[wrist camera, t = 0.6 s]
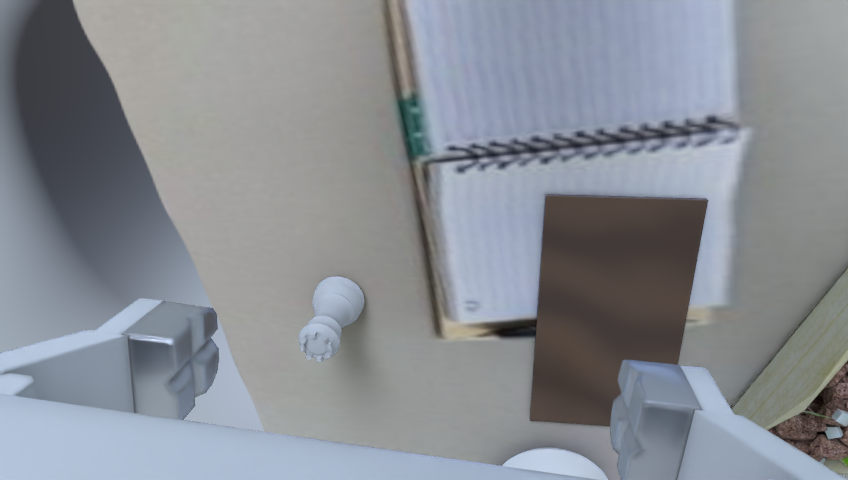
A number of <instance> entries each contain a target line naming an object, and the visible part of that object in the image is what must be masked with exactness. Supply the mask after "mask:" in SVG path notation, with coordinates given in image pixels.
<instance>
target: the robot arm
mask: <svg viewBox="0 0 848 480" xmlns="http://www.w3.org/2000/svg"><path fill="white" fill-rule="evenodd" d="M217 329H218V326H217V314H216V312H215V311H214V309H213V308H210V307H202V306H195V305H189V304H182V303H175V302H166V301H165V300H154V299H141V298H139V299H138V300H136V301H135V302H134V303H132V304H131V305H129V306H128V307H127V308H125V309H124V310H123V311H121V312H120V313H119V314H117V315H116V316H114V317H113V318H112V319H110V320H109V321H107V322H106V323H105V324H103V325H102V326H101V327H99V328H98V329H96V330H95V331H91V330H85V331H81V332H78V333H74V334H70V335H66V336H62V337H58V338H55V339H51V340H47V341H43V342H39V343H36V344H32V345H28V346H24V347H20V348H16V349H12V350H8V351H5V352H1V353H0V480H597V479H590V478H583V477H576V476H569V475H562V474H555V473H548V472H541V471H534V470H527V469H520V468H513V467H506V466H499V465H492V464H485V463H478V462H471V461H464V460H457V459H451V458H444V457H437V456H430V455H423V454H416V453H409V452H402V451H395V450H388V449H381V448H374V447H367V446H360V445H353V444H346V443H339V442H333V441H326V440H319V439H312V438H305V437H298V436H291V435H284V434H277V433H270V432H262V431H256V430H249V429H242V428H235V427H228V426H222V425H221V426H220V425H214V424H208V423H200V422H194V421H187V420H184V418H185V417H186V416H187V415H188V414H189V412H190V411H191V410H192V409H193V408H194V406H195V397H197V396H199V395H202V394H204V393H206V392H207V390H208V389H209V388H210V386H211V385H212V384H213V381H214V379H215V376H216V373H217V370H218V362H219V349H218V347H217V346H216V344H215V343H214V341H213V340H212V339H211V337H212V336H213V334H214V333H215V332H216V330H217ZM618 383H619V387H620V390H621V394H620V395H619V396H618V397H617V398H616V399H614V400H613V406H612V412H611V422H610V435H611V442H612V447H613V450H615V451H616V452H617V453H618V454H619V458H618V463H617V467H618V471H619V475H620V479H621V480H848V479H846V478H845V477H843V476H841V475H840V474H838V473H836V472H835V471H833V470H831V469H830V468H828V467H827V466H825V465H823V464H822V463H820V462H818V461H817V460H815V459H813V458H812V457H810V456H808V455H807V454H805V453H803V452H802V451H800V450H799V449H797V448H795V447H794V446H792V445H790V444H789V443H787V442H785V441H784V440H782V439H780V438H779V437H777V436H775V435H774V434H772V433H771V432H769V431H767V430H766V429H764V428H762V427H761V426H759V425H757V424H756V423H754V422H752V421H751V420H749V419H747V418H746V417H744V416H740V415H735V414H734V413H733V411H732V409H731V408H730V406H729V404H728V403H727V401H726V399H725V398H724V396H723V394H722V393H721V391H720V389H719V388H718V386H717V384H716V383H715V381H714V379H713V377H712V376H711V374H710V372H709V371H708V370H707V369H705V368H703V367H691V366H680V365H675V364H665V363H655V362H646V361H636V360H623V362H622V365H621V367H620V371H619V376H618Z"/></svg>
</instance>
